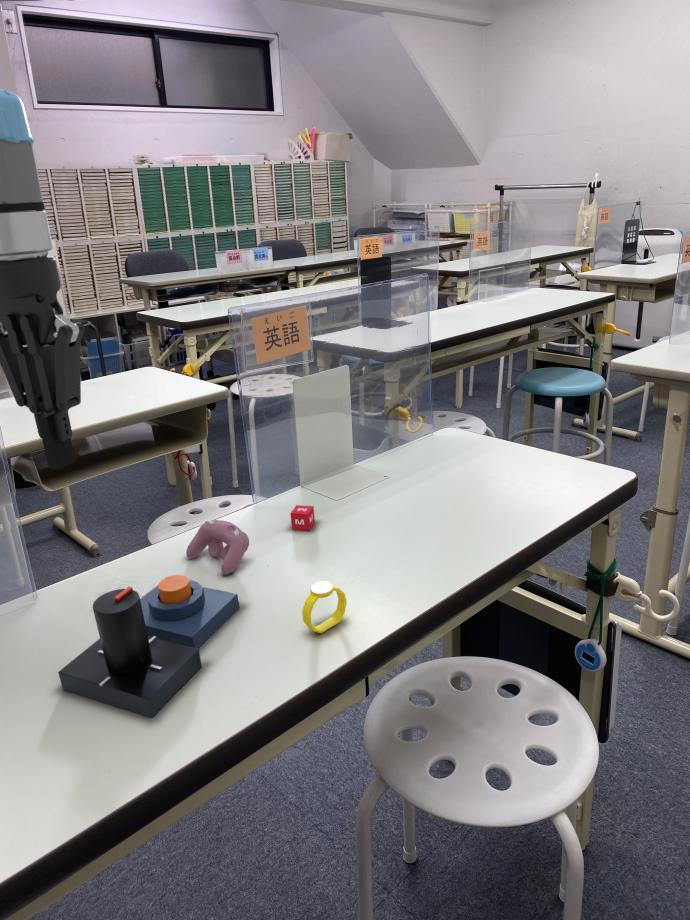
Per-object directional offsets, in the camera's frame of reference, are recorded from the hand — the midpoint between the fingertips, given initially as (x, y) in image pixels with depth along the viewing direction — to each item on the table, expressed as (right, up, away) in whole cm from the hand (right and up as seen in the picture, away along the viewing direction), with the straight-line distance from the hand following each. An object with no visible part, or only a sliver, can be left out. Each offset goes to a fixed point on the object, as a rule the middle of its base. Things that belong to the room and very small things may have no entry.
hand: (62, 464), depth 80 cm
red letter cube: (+26, -11, +33) cm, 43 cm away
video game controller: (+14, -15, +24) cm, 32 cm away
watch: (+31, -21, +6) cm, 38 cm away
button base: (+12, -21, +10) cm, 25 cm away
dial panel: (+9, -25, -1) cm, 26 cm away
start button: (+11, -17, +8) cm, 22 cm away
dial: (+8, -22, -2) cm, 24 cm away
